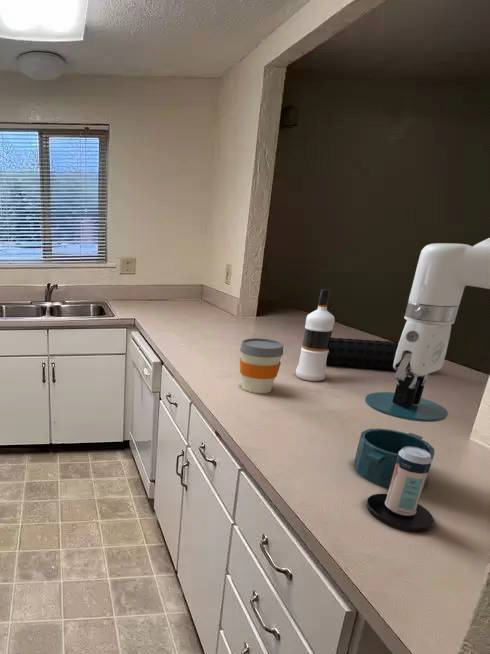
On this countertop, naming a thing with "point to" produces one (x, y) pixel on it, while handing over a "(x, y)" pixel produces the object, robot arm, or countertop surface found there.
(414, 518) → the black plate
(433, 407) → the lid
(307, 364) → the vodka
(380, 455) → the pot
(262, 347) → the reusable coffee cup
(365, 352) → the roller
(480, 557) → the countertop surface
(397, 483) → the beer can
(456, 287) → the robot arm
